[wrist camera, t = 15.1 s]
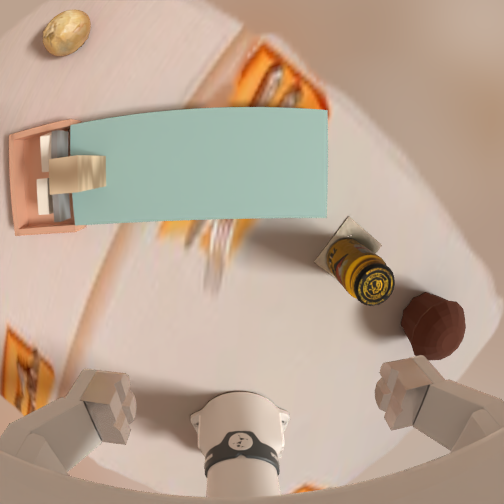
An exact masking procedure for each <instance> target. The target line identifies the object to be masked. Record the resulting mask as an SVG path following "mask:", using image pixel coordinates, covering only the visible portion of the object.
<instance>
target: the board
mask: <svg viewBox="0 0 504 504" xmlns="http://www.w3.org/2000/svg"><path fill="white" fill-rule="evenodd" d="M76 155H91V156H106V186H105V187H100V188H95V189H91V190H86V191H82V192H76V193H72V198H73V210H74V220H75V226H77V225H92V224H110V223H129V222H150V221H175V220H205V219H247V218H327V185H328V120H327V110H318V109H302V108H279V107H222V108H199V109H183V110H170V111H160V112H150V113H141V114H133V115H126V116H119V117H112V118H106V119H100V120H94V121H89V122H83V123H78V124H73V125H70V156H76Z"/></svg>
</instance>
